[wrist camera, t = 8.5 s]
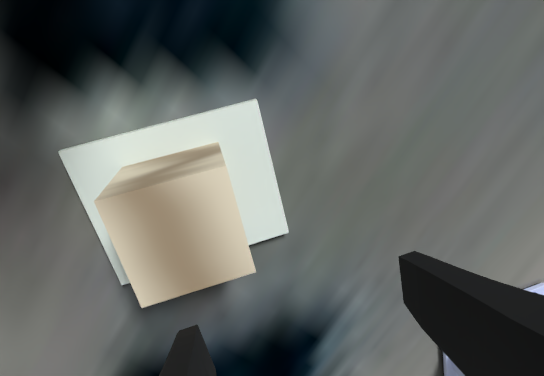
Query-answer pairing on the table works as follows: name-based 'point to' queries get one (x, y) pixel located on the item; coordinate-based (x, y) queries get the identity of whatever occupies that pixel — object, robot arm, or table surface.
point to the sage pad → (179, 137)
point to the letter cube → (176, 224)
